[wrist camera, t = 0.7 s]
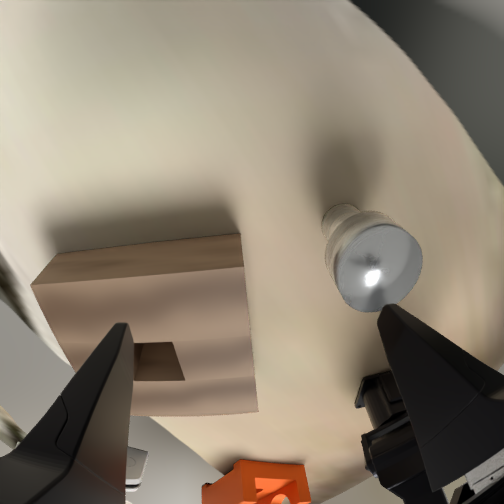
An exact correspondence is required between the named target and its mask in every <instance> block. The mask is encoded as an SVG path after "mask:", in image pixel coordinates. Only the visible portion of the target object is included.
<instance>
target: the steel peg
mask: <svg viewBox="0 0 504 504" xmlns="http://www.w3.org/2000/svg"><path fill="white" fill-rule="evenodd" d="M322 232H323V234H324V236H325V238H326V239H327V241H328V243H327V246H326V251H325V262H326V267H327V269H328V271H329V273H330V275H331V277H332V279H333V281H334V282H335V284H336V286H337V288H338V290H339V292H340V293H341V295H342V297H343V299H344V300H345V302H346V303H347V304H348V305H349V306H350V307H352V308H353V309H355V310H358V311H361V312H377V311H382V308H383V306H384V305H386V304H392V303H394V304H397V303H398V302H399V301H401V300H402V299H403V298H404V297H405V296H406V295H407V294H408V293H409V292H410V291H411V289H412V288H413V287H414V285H415V284H416V282H417V280H418V278H419V275H420V272H421V269H422V251H421V248H420V246H419V244H418V242H417V241H416V239H415V238H414V237H413V236H411V235H410V234H409V233H408V232H407V231H406V230H404V229H403V228H402V227H401V226H400V225H398V224H397V223H396V222H395V221H394V220H392V219H391V218H390V217H389V216H387V215H385V214H383V213H381V212H377V211H364V212H360V211H358V210H357V209H356V208H355V207H354V206H352V205H349V204H339V205H336V206H334V207H332V208H331V209H330V210H329V211H328V212H327V213H326V214H325V216H324V218H323V221H322Z"/></svg>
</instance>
